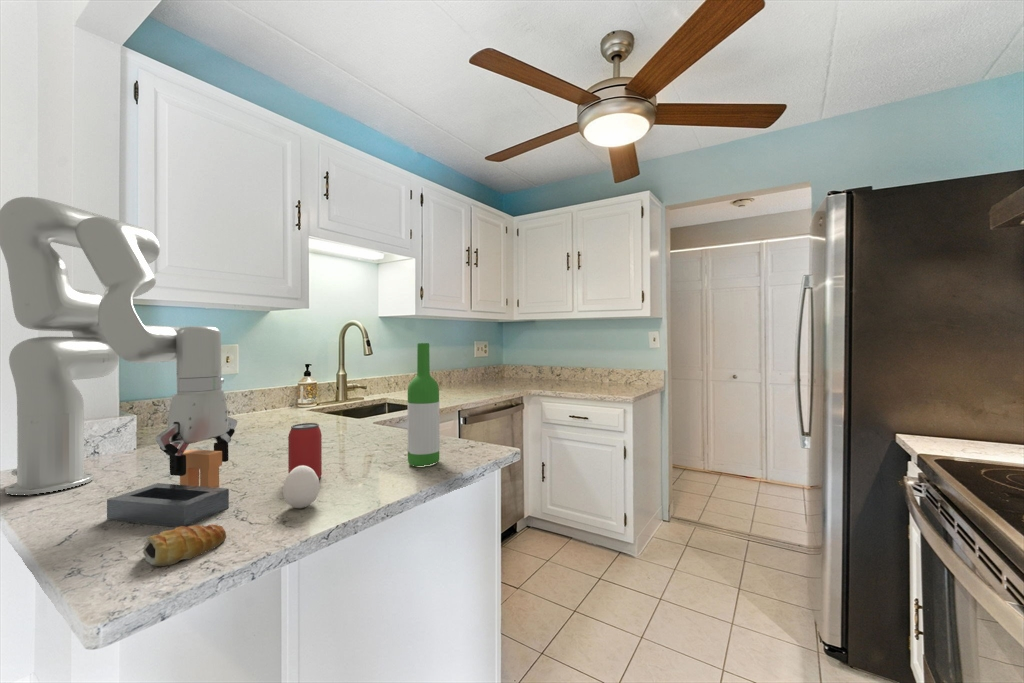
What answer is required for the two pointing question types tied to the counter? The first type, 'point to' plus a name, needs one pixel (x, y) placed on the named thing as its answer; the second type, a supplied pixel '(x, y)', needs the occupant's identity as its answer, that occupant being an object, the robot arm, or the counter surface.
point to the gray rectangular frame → (168, 504)
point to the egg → (301, 487)
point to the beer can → (305, 447)
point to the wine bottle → (423, 413)
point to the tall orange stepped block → (202, 468)
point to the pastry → (182, 543)
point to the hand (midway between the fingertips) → (200, 467)
